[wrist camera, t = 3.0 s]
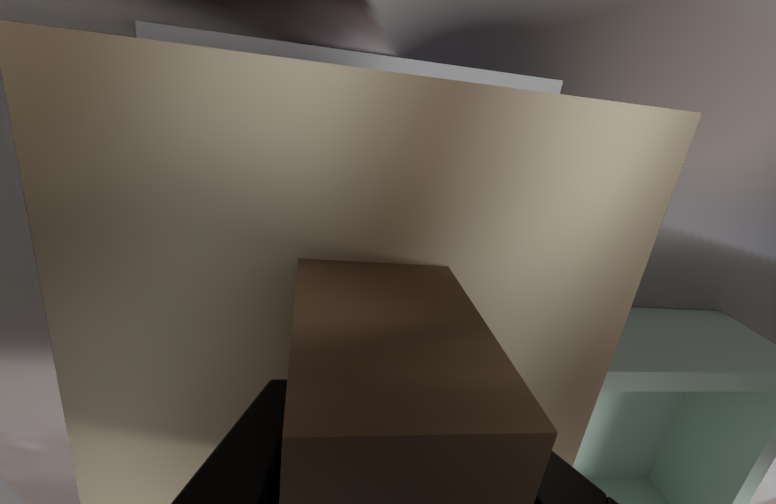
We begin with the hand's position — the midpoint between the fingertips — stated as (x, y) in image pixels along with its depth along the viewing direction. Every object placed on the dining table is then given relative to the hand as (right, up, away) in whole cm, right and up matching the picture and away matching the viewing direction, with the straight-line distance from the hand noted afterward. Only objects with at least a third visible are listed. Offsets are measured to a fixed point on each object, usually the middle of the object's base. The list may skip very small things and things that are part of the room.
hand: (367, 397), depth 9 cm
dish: (+10, -4, +12) cm, 16 cm away
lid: (0, +1, +2) cm, 2 cm away
